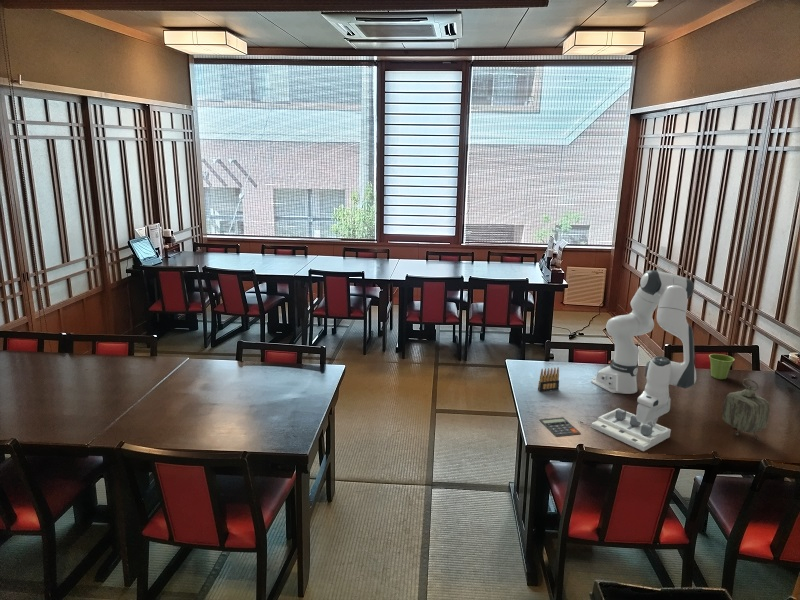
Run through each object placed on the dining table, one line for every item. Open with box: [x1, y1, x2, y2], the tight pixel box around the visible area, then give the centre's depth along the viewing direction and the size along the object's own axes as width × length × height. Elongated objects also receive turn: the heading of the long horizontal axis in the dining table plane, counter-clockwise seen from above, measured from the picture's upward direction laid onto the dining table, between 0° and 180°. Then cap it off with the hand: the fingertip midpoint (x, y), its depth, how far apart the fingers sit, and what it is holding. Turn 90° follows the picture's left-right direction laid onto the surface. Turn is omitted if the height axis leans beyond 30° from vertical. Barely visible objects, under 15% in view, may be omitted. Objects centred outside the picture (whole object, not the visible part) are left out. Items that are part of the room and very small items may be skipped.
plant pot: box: [708, 353, 735, 380], centre depth 284 cm, size 12×12×11 cm
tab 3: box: [641, 424, 653, 436], centre depth 219 cm, size 3×3×4 cm
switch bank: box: [590, 407, 672, 452], centre depth 225 cm, size 24×20×4 cm
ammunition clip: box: [537, 366, 560, 393], centre depth 265 cm, size 11×2×12 cm, turn 104°
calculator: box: [539, 416, 581, 438], centre depth 229 cm, size 12×1×15 cm
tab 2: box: [630, 414, 641, 427], centre depth 227 cm, size 3×3×4 cm
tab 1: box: [615, 408, 627, 421], centre depth 232 cm, size 3×3×4 cm
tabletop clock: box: [721, 378, 771, 440], centre depth 222 cm, size 14×9×25 cm, turn 20°
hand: (651, 426), depth 220 cm, fingers closed
